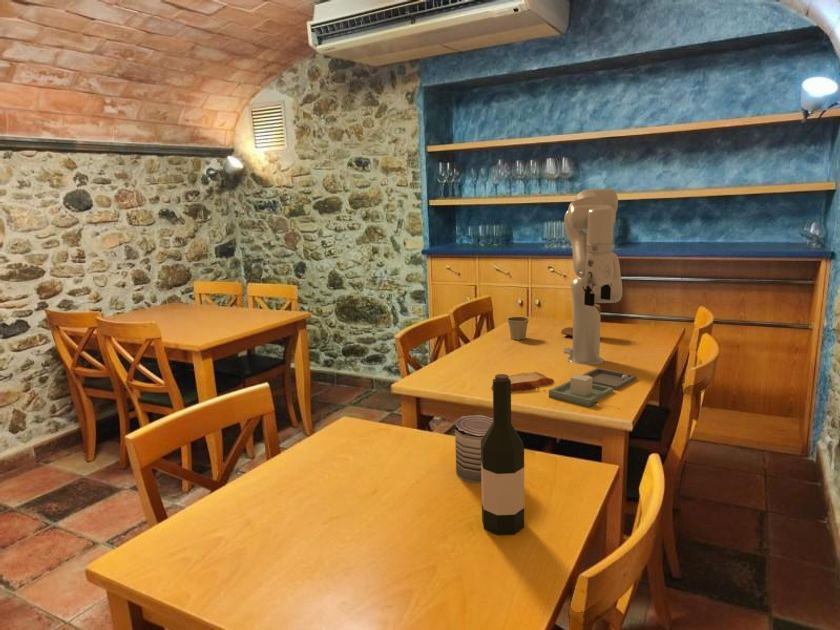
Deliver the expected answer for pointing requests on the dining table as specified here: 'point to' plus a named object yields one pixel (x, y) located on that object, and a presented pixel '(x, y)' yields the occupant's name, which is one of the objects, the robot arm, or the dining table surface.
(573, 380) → the beige block
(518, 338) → the flower pot
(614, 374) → the bin
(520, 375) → the bread slice
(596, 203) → the robot arm
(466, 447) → the can
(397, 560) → the dining table surface
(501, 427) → the wine bottle
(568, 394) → the bin
